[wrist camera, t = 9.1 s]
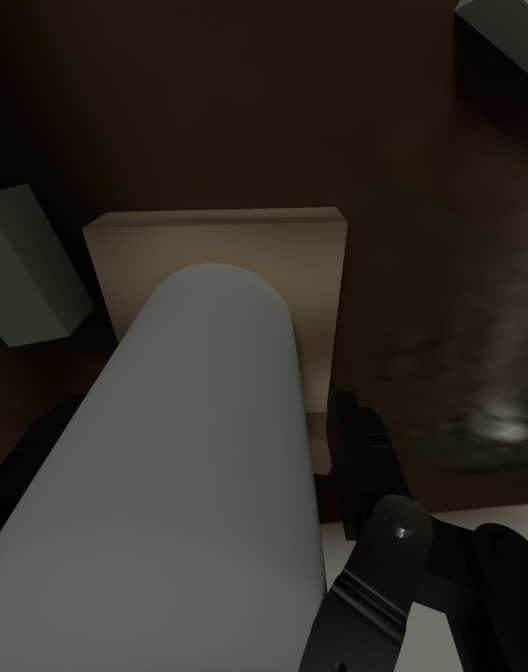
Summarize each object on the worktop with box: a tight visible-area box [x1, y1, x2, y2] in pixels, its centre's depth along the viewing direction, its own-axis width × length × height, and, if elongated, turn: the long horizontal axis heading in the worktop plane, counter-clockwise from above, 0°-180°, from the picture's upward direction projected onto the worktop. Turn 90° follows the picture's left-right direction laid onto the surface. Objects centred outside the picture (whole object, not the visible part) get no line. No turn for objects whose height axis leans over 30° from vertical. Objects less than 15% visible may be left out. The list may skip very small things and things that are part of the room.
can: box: [0, 263, 328, 672], centre depth 10 cm, size 6×6×12 cm
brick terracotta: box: [305, 407, 332, 475], centre depth 21 cm, size 6×3×3 cm, turn 76°
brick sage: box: [0, 184, 95, 347], centre depth 15 cm, size 6×3×3 cm, turn 12°
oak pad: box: [82, 207, 348, 413], centre depth 16 cm, size 10×10×2 cm
